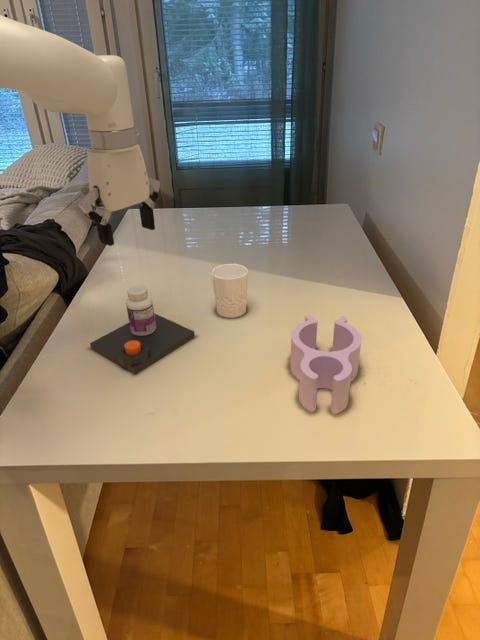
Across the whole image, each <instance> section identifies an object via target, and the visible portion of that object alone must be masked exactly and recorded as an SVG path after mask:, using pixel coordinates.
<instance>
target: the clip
mask: <svg viewBox="0 0 480 640" xmlns="http://www.w3.org/2000/svg"><path fill="white" fill-rule="evenodd" d="M290 335H291V336H290V363H289V367H290V371H291V373H292V375H293V376H294V377H295V378H296V379H297V380H298V381H299V385H298V386H299V387H298V400H299V403H300V405H301V406H302V407H303V408H304V409H306V411H308V412H311V413H314V412H315V411H316V410H317V398H318V389H326V390H329V391H332V392H331V401H330V413H332V414H333V415H336V414H339V413H341V412H342V411H345V409H346V408H347V406H348V404H349V396H350V388H351V383H352V382H353V381H354V380H355V379H356V377H357V376H358V372H359V362H360V357H361V356H360V355H361V347H362V339H363V338H362V335H361V333H360V331H359V330H358V329H357V328H355V327H354V326H353V325H351V324H349V323H348V317H346V316H340V317H338V318H336V319H335V321H334V325H333V335H332V336H333V337H332V346H331V347H332V348H331V351H324V350H318V349H317V339H318V337H317V336H318V319H317V318H316V317H314V316H313V315H312V314H306V315H305V316H304V321H301V322H300V323H298V324H297V325H295V326H294V327H293V328H292V331H291V333H290Z"/></svg>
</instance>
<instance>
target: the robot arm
mask: <svg viewBox="0 0 480 640" xmlns="http://www.w3.org/2000/svg"><path fill="white" fill-rule="evenodd" d="M126 65H127V64H126V63H125V61H124V59H123V58H122V57H120V56H119V55H115V54H114V55H113V54H105V55H104V54H103V55H100V54H99V55H97V54H95V53H93V52H91V51H89V50H88V49H86V48H84V47H82V46H80V45H78V44H76V43H75V42H72V41H70V40H68V39H66V38H64V37H61V36H59V35H57V34H54V33H52V32H50V31H47V30H43V29H40V28H39V27H35V26H33V25H29V24H26V23H23V22H20V21H17V20H14V19H12V18H9V17H7V16H5V15H1V14H0V89H8V90H15V91H22V92H26V94H27V95H28V98H29V99H30V100H31V101H32V102H33V103H34V104H35V105H36V106H38V107H39V108H41V109H43V110H44V111H49V112H52V113H57V114H77V115H85V119H86V125H87V130H88V136H89V141H90V147H91V149H89V150H87V159H86V160H87V163H86V164H87V165H86V166H87V167H86V168H87V180H88V188H89V192H88V193H86V195H85V196H83V198H82V199H80V200H79V202H78V204H77V206H78V207H79V208H80V210H81V211H82V213H83V214H84V215H85V217H86V218H88V219H89V220H91V221H92V222H93V223H95V224H96V230H97V234H98V239H99V240H100V243H102V244H104V245H107V246H109V247H112V246H114V245H115V240H114V234H113V229H112V225H111V223H108V222H109V219H110V218H111V215H112V213H113V212H116V211H120V210H123V209H126V208H129V207H132V206H135V205H138V204H140V205H141V206H139V216H140V222H141V227H142V228H145V229H146V230H147V229H148V230H150V231H154V230H156V224H155V216H154V209H155V208H156V202H157V200H158V198H159V191H160V187H161V181H160V180H159V179H155V178H152V177H150V176H149V175H148V171H147V167H146V163H145V159H144V155H143V153H142V149H141V146H140V145H139V144H137V137H138V136H140V130H139V129H138V127H135V121H134V114H133V113H134V112H133V106H132V101H131V100H132V99H131V93H130V85H129V78H128V70H127V66H126ZM92 206H93V207H92ZM93 208H96V209H95V211H94V210H93Z"/></svg>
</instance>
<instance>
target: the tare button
mask: <svg viewBox="0 0 480 640" xmlns="http://www.w3.org/2000/svg"><path fill="white" fill-rule="evenodd" d="M124 347H125V353H126V354H127V355H136V354H138V353H140V352H141V345H140V342H139V341H136V340H133V341H129V342H127V343H125V345H124Z"/></svg>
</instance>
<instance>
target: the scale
mask: <svg viewBox="0 0 480 640" xmlns="http://www.w3.org/2000/svg"><path fill="white" fill-rule="evenodd" d="M154 316H155V323H156V329H155V331H154V332H153V333H151V334H149V335H146V336H137V335H134V334H133V333H132V332H131V329H130V324H129V322H127V323H126V324H123V325H121V326H119V327H118V328H116V329H114V330H112V331H110V332H108V333H106V334H105V335H102V336H100V337H99V338H97V339H95V340H93V341H91V342H90V343H89V345H90V349H91V350H93V351H94V352H96V353H98V354H100V355H101V356H103V357H105V358H107V359H108V360H110V361H112V362H113V363H115V364H116V365H118V366H120V367H122V368H124V369H125V370H127V371H129V372H130V373H132V374H134V375H136V374H138V373H140V372H142V371H143V370H145V369H146V368H148V367H149V366H151V365H153V364H154V363H156V362H157V361H159V360H160V359H162V358H164V357H166V356H167V355H169V354H170V353H172V352H174V351H175V350H176V349H178V348H179V347H181V346H183V345H184V344H185V345H186V343H187V342H189V341H191V340H192V339H195V337H196V336H195V335H196V333H195V331H194V330H192V329H189V328H188V327H186V326H183V325H181V324H179V323H176V322H174V321H172V320H170V319H168V318H166V317H164V316H161V315H159V314H157V313H155V312H154ZM133 340H136V341H139V342H140V345H141V352H140V353H138V354H136V355H127V354H126V353H125V347H124V345H125V343H127V342H129V341H133Z"/></svg>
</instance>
